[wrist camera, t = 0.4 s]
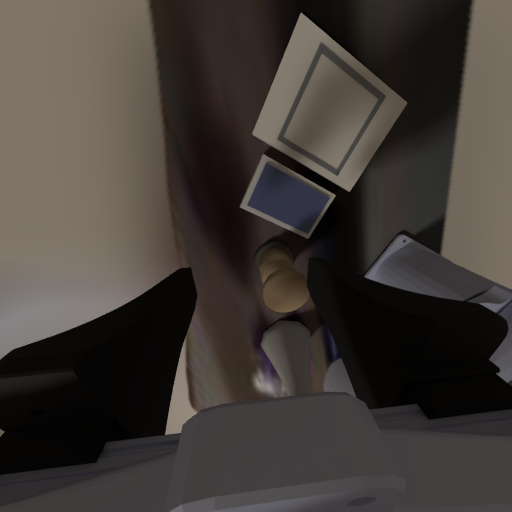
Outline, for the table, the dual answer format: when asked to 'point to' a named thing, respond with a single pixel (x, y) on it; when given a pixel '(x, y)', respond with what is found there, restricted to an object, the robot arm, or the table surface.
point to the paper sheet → (326, 107)
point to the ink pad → (286, 197)
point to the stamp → (280, 277)
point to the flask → (290, 355)
